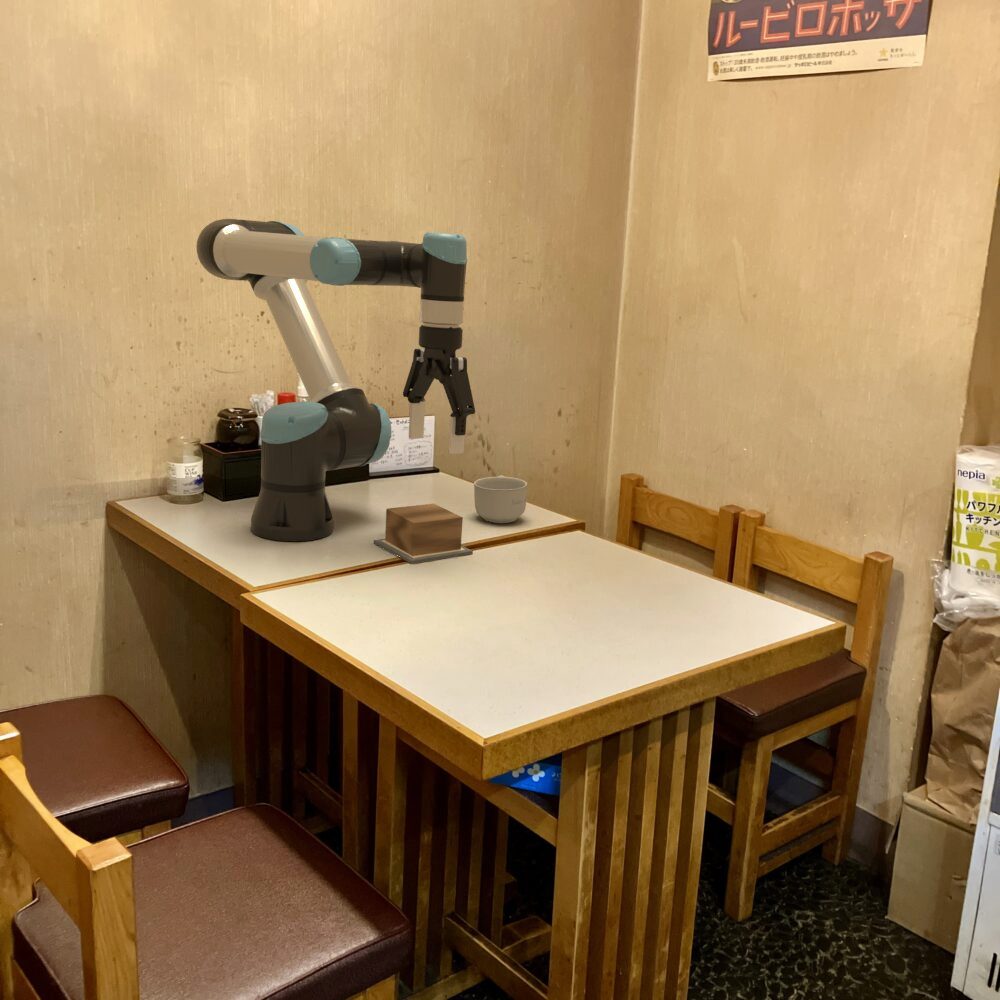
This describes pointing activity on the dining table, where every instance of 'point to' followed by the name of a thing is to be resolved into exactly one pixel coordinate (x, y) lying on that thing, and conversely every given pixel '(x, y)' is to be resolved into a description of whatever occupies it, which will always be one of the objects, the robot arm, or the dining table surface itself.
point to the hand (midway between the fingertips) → (435, 445)
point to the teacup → (500, 498)
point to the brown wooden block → (423, 529)
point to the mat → (421, 558)
